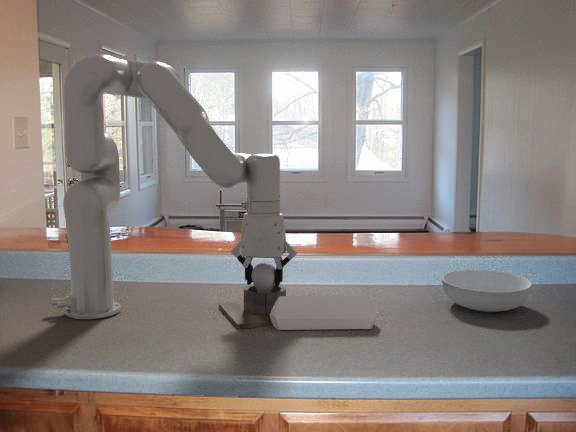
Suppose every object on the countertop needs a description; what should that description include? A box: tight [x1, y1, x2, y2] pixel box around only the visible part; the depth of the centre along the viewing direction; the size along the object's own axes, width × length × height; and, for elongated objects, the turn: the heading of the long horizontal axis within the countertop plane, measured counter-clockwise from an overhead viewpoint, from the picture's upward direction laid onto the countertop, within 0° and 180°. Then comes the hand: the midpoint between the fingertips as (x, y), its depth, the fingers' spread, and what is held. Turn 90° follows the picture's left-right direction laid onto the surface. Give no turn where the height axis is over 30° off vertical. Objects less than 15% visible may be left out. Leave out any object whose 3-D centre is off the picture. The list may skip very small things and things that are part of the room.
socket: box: [218, 283, 287, 330], centre depth 153 cm, size 18×18×6 cm
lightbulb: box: [251, 262, 276, 293], centre depth 152 cm, size 6×6×11 cm
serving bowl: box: [441, 269, 533, 313], centre depth 158 cm, size 21×21×7 cm
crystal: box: [270, 295, 379, 331], centre depth 145 cm, size 7×7×24 cm
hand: (263, 283), depth 152 cm, fingers closed on lightbulb, 6 cm apart
